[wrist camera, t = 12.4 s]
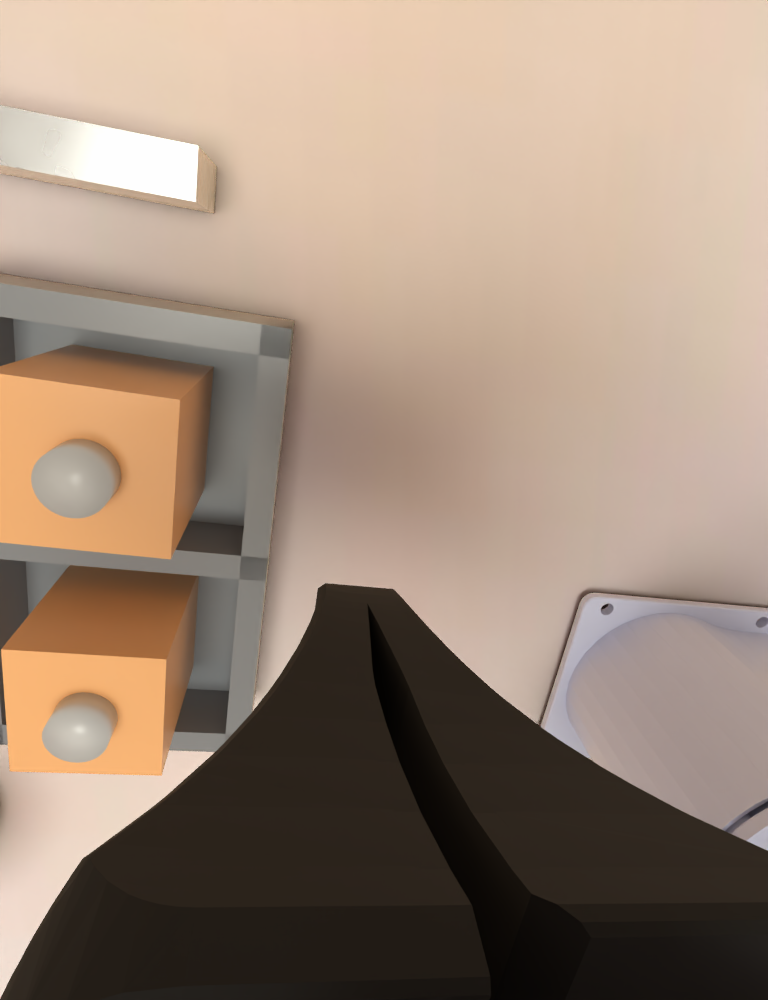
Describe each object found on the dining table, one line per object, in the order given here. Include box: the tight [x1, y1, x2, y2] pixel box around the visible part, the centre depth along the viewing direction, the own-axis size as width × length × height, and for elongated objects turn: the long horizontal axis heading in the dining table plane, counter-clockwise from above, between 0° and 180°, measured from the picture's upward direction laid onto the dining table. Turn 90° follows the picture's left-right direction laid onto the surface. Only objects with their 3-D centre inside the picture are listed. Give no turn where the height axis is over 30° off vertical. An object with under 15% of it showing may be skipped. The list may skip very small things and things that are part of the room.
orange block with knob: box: [1, 565, 199, 776], centre depth 18 cm, size 4×4×6 cm
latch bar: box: [0, 105, 217, 213], centre depth 15 cm, size 6×1×3 cm, turn 81°
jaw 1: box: [0, 344, 214, 559], centre depth 15 cm, size 4×4×6 cm
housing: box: [0, 273, 295, 752], centre depth 19 cm, size 9×14×3 cm, turn 171°
